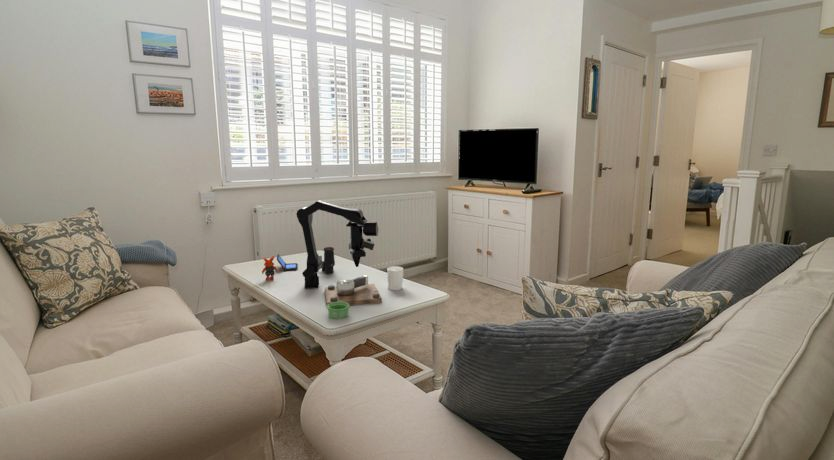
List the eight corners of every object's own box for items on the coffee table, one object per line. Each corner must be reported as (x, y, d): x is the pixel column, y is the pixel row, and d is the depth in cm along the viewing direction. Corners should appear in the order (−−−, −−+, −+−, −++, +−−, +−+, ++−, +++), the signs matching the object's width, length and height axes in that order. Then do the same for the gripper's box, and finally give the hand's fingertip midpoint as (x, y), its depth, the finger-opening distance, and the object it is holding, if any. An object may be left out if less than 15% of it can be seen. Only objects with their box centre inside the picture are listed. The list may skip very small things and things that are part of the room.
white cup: (397, 291, 217) (397, 271, 215) (384, 288, 221) (383, 269, 219) (406, 287, 223) (406, 267, 221) (393, 284, 228) (393, 265, 226)
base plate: (327, 307, 197) (327, 300, 196) (324, 291, 217) (324, 285, 216) (381, 302, 203) (381, 295, 202) (374, 287, 223) (374, 281, 222)
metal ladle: (344, 296, 202) (344, 284, 201) (333, 292, 208) (332, 281, 206) (372, 287, 215) (372, 276, 214) (361, 283, 220) (360, 272, 219)
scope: (331, 245, 251) (338, 248, 242) (332, 268, 253) (339, 273, 245) (317, 246, 246) (324, 250, 238) (318, 271, 249) (325, 275, 241)
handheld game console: (297, 270, 250) (296, 257, 249) (277, 272, 248) (276, 259, 246) (297, 264, 262) (297, 252, 261) (278, 265, 260) (277, 253, 258)
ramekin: (333, 321, 182) (333, 311, 181) (324, 314, 189) (323, 304, 188) (353, 316, 187) (353, 306, 187) (343, 309, 195) (343, 300, 194)
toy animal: (274, 276, 239) (273, 254, 237) (278, 279, 235) (277, 256, 233) (259, 279, 235) (258, 256, 232) (263, 281, 230) (261, 259, 228)
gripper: (376, 238, 209) (376, 271, 213) (370, 230, 227) (370, 260, 230) (352, 240, 207) (352, 272, 210) (348, 231, 224) (348, 262, 227)
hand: (357, 266), depth 219 cm, fingers closed
